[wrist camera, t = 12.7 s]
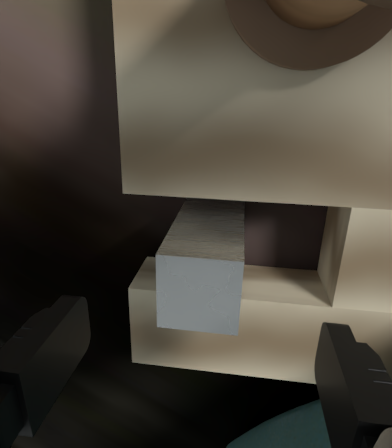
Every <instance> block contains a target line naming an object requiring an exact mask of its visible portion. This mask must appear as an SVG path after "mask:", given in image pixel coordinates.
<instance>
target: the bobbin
mask: <svg viewBox="0 0 392 448" xmlns="http://www.w3.org/2000/svg"><path fill="white" fill-rule="evenodd" d="M225 4H226V8H227V12H228V14H229V17H230V19H231V22H232V24H233V26H234V28H235V30H236V31H237V33H238V35H239V36H240V37H241V39H242V40H243V42H244V43H245V44H246V45H247V46H248V47H249V48H250V49H251V50H252V51H253V52H254V53H256V54H257V55H258V56H259V57H261V58H262V59H264V60H266V61H268V62H269V63H271V64H274V65H276V66H279V67H282V68H286V69H291V70H301V71H305V70H317V69H322V68H327V67H330V66H333V65H336V64H339V63H342V62H345V61H348V60H350V59H352V58H354V57H356V56H358V55H360V54H361V53H363V52H365V51H366V50H368V49H369V48H371V47H372V46H373V45H375V44H376V43H377V42H378V41H380V40H381V39H382V38H383V37H384V36H385V35H386V34H387V33H388V32H389V31H390V30H391V29H392V0H225Z"/></svg>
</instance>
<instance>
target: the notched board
mask: <svg viewBox="0 0 392 448" xmlns="http://www.w3.org/2000/svg"><path fill="white" fill-rule="evenodd" d="M112 11H113V29H114V46H115V64H116V82H117V100H118V117H119V135H120V153H121V171H122V188H123V194H138V195H155V196H171V197H188V198H204V199H221V200H237V201H253V202H270V203H286V204H303V205H319V206H328V209H327V215H326V221H325V227H324V233H323V239H322V244H321V250H320V256H319V262H318V268H317V271H316V270H304V269H291V268H279V267H267V266H255V265H244V271H243V282H242V294H241V306H240V317H239V329H238V336H235V335H226V334H217V333H207V332H198V331H189V330H180V329H170V328H161V327H157V303H156V257H147V258H146V259H145V261H144V263H143V264H142V266H141V268H140V269H139V271H138V273H137V274H136V276H135V278H134V279H133V281H132V283H131V284H130V286H129V288H128V295H129V313H130V330H131V348H132V362H135V363H143V364H151V365H160V366H168V367H177V368H185V369H194V370H202V371H210V372H219V373H227V374H236V375H244V376H252V377H261V378H269V379H278V380H286V381H295V382H303V383H311V384H316V380H315V371H314V365H315V357H316V351H317V346H318V341H319V336H320V330H321V326H322V323H323V322H328V323H338V324H347V325H349V326H350V328H351V330H352V333H353V335H354V337H355V340H356V342H361V343H367V344H368V345H369V346H370V347H371V348H372V349H373V350H374V351H375V352H376V353H377V354H378V355H379V356H380V358H381V360H382V362H383V364H384V366H385V368H386V370H387V373H388V374H389V376H390V378H391V380H392V29H391V30H390V31H389V32H388V33H387V34H386V35H385V36H384V37H383V38H382V39H381V40H380V41H378V42H377V43H376V44H375V45H373V46H372V47H371V48H369V49H368V50H366V51H365V52H363V53H361V54H360V55H358V56H356V57H354V58H352V59H350V60H348V61H345V62H342V63H339V64H336V65H333V66H330V67H327V68H322V69H317V70H305V71H301V70H291V69H286V68H282V67H279V66H276V65H274V64H271V63H269V62H268V61H266V60H264V59H262V58H261V57H259V56H258V55H257V54H256V53H254V52H253V51H252V50H251V49H250V48H249V47H248V46H247V45H246V44H245V43H244V42H243V40H242V39H241V37H240V36H239V35H238V33H237V31H236V30H235V28H234V26H233V24H232V22H231V19H230V17H229V14H228V12H227V8H226V4H225V0H112Z"/></svg>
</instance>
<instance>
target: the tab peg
mask: <svg viewBox="0 0 392 448" xmlns="http://www.w3.org/2000/svg"><path fill="white" fill-rule="evenodd" d="M243 271H244V201H235V200H219V199H203V198H188V197H187V198H186V200H185V202H184V204H183V206H182V208H181V209H180V211H179V213H178V215H177V217H176V218H175V220H174V222H173V224H172V226H171V228H170V229H169V231H168V233H167V235H166V237H165V238H164V240H163V242H162V244H161V246H160V247H159V249H158V251H157V253H156V303H157V327H161V328H170V329H180V330H189V331H198V332H207V333H217V334H226V335H235V336H238V329H239V317H240V306H241V294H242V282H243Z"/></svg>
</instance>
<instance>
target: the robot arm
mask: <svg viewBox="0 0 392 448" xmlns="http://www.w3.org/2000/svg"><path fill="white" fill-rule="evenodd" d="M90 336H91V332H90V323H89V314H88V305H87V300H86V298H85V297H81V296H71V295H62V296H61V297H60V298H59V299H58V300H57V301H56V302H55V303H54V304H53V305H52V306H51V307H50V308H44V309H43V310H41V311H39V312H37V313H36V314H34V315H32V316H31V317H30V318H29V319H28V320H27V321H26V322H25V323H24V324H23V325H22V326H21V329H19V330H18V331H17V332H16V333H15V334H14V335H13V337H12V338H10V339H9V340H8V341H7V342H6V343H5V344H4V345H3V346H2V347H1V348H0V448H12V446H11V445H12V443H13V442H14V440H15V439H16V437H17V436H18V435H22V436H29V437H33V436H34V435H35V433H36V432H37V430H38V428H39V427H40V425H41V424H42V422H43V420H44V419H45V417H46V415H47V414H48V412H49V411H50V409H51V407H52V406H53V404H54V403H55V401H56V399H57V398H58V396H59V394H60V393H61V391H62V390H63V388H64V386H65V385H66V383H67V382H68V380H69V378H70V377H71V375H72V374H73V372H74V370H75V369H76V367H77V365H78V364H79V362H80V361H81V359H82V357H83V356H84V354H85V353H86V351H87V349H88V346H89V343H90ZM314 371H315V380H316V385H317V389H318V393H319V397H320V402H321V406H322V410H323V415H324V419H325V423H326V427H327V432H328V436H329V440H330V445H331V448H392V380H391V378H390V376H389V374H388V373H387V370H386V368H385V366H384V364H383V362H382V360H381V358H380V356H379V355H378V354H377V353H376V352H375V351H374V350H373V349H372V348H371V347H370V346H369V345H368V344H367V343H361V342H356V340H355V337H354V335H353V333H352V330H351V328H350V326H349V325H347V324H338V323H328V322H323V323H322V326H321V330H320V336H319V341H318V346H317V351H316V357H315V365H314Z"/></svg>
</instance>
